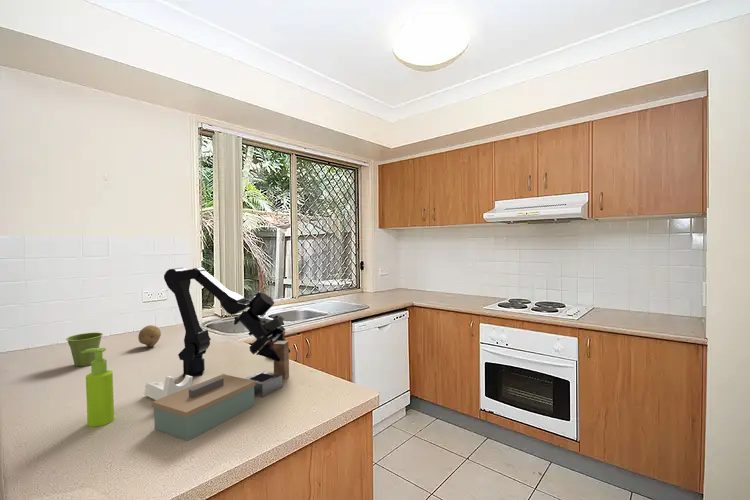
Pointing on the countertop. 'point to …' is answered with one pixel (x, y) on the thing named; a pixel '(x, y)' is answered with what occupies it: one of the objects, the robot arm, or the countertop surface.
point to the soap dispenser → (99, 391)
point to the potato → (149, 335)
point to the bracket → (166, 387)
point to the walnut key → (282, 358)
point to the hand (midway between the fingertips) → (284, 356)
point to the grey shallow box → (266, 383)
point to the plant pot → (84, 347)
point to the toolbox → (203, 406)
